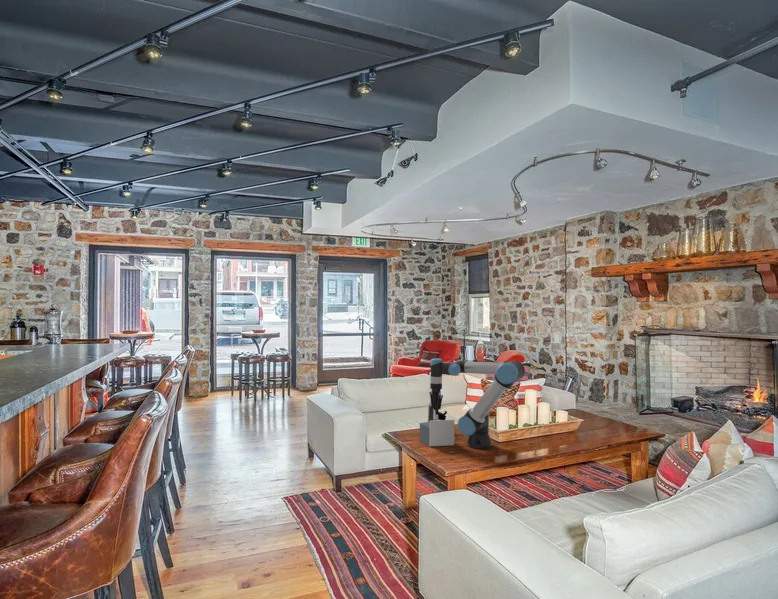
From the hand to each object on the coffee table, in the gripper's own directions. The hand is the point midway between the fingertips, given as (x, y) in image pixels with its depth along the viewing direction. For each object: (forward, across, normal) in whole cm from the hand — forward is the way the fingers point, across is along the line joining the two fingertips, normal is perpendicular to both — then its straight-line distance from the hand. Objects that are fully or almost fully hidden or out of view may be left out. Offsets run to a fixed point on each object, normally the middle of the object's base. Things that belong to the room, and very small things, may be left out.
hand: (435, 419), depth 300 cm
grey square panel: (+15, -6, -1) cm, 17 cm away
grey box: (+16, +3, -1) cm, 16 cm away
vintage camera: (+16, +23, -17) cm, 33 cm away
